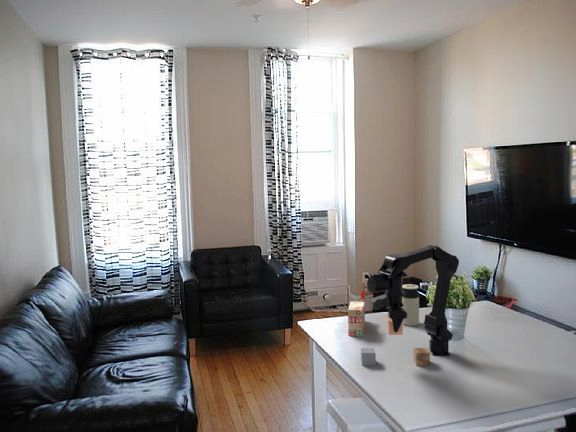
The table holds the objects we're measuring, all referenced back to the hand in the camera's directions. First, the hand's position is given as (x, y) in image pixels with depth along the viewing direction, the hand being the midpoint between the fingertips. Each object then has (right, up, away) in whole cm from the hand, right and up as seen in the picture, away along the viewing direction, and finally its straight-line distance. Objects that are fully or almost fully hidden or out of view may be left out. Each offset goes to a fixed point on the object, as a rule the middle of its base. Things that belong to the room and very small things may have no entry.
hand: (394, 329), depth 179 cm
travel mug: (+17, -8, +45) cm, 49 cm away
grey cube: (-10, -13, +2) cm, 16 cm away
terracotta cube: (0, -1, 0) cm, 1 cm away
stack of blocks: (-8, -9, +41) cm, 43 cm away
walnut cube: (+10, -13, +1) cm, 16 cm away
